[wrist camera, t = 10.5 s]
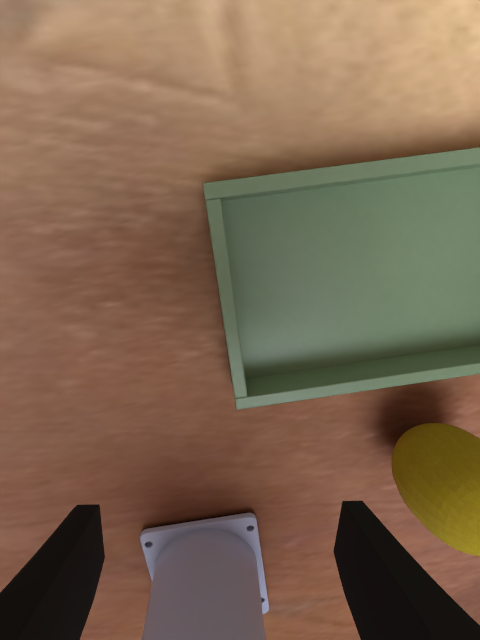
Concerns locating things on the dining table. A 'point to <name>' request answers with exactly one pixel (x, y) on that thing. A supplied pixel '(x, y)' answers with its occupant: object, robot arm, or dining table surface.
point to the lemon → (441, 482)
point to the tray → (349, 276)
